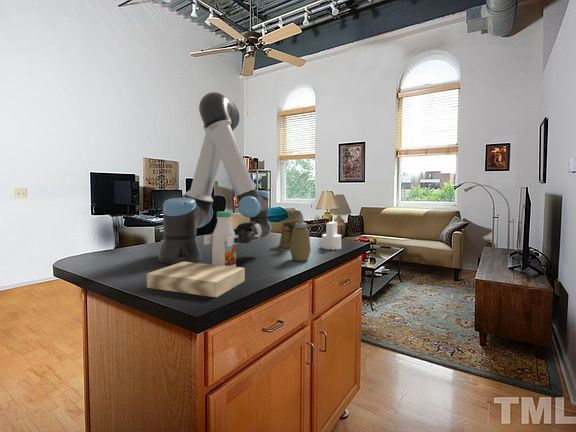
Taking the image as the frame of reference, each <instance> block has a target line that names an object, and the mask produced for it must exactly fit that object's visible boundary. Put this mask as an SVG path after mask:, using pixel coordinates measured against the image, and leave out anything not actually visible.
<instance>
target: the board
mask: <svg viewBox="0 0 576 432" xmlns="http://www.w3.org/2000/svg"><path fill="white" fill-rule="evenodd" d="M245 269H246V268H245V267H241V266H236V267H231V266H222V265H212V263H211V264H210V263H200V262H193V263H192V262H180V263H177V264H170V265H169V266H165V267H162V268H160V269H156V270H153V271H150V272H148V273H146V288H148V289H154V290H160V291H161V290H162V291H167V292H168V291H169V292H175V293H184V294H188V295H189V294H190V295H197V296H203V297H212V298H218V297H220V296H221V295H224V294H225V293H226V292H227V293H228V291H230V290H231V289H234V288H235V287H237V286H239V285H240V284H242V283H243V282H246V281H245V280H246V279H245V278H246V276H245V275H246V272H245V271H246V270H245Z"/></svg>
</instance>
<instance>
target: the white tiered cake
mask: <svg viewBox="0 0 576 432" xmlns="http://www.w3.org/2000/svg"><path fill="white" fill-rule="evenodd" d="M325 225H326V227H325V229H326V230H325V231H326V233H323V234H322V235H321V248H322V249H323V250H324V249H325V250H330V249H331V250H333V251H334V250H335V249H336V250H341V249H342V234H338V225H339V223H338V221H329V222H326V224H325Z"/></svg>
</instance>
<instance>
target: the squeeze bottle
mask: <svg viewBox="0 0 576 432" xmlns="http://www.w3.org/2000/svg"><path fill="white" fill-rule="evenodd" d="M304 220H305V219H304V216H303V213H302V214H299V218H298V222H297V223H295V228H294V229H293V230H292V237H291V246H290V248H289V251H290V256H291V258H292V260H293V261H296V262H305V261H308V260H309V257H310V254H311V238H310V230H309V229H308V227H307V226H308V225H307V224H308V223H307V222H305V221H304Z"/></svg>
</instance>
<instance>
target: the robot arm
mask: <svg viewBox="0 0 576 432" xmlns="http://www.w3.org/2000/svg"><path fill="white" fill-rule="evenodd" d="M198 105H199V106H198V112H199V115H200V119H201V120H202V123H203V130H204V131H205V135H204V137H203V142H202V146H201V149H200V152H199V157H198V160H197V163H196V168H195V172H194V175H193V179H192V182H191V187H190V188H189V190H188V191H186V192H185V193H184V196H183V197H175V198H173V197H172V198H169V199H166V200H165V201H164V202H163V204H162V205H163V206H162V207H163V208H162V217H163V218H162V220H163V221H162V223H163V242H162V246H161V249H160V251H159V254H158V258H159V259H158V261H159V263H161V264H165V265H174V264H177V263H180V262H192V263H198V262H200V261H201V260H202V254H201V250H200V247H199V244H198V241H197V229H200V228H203V227H204V226H207V224H209V223H210V221H211V220H212V218H213V215H214V210H213V203H214V199H213V198H212V193H213V189H214V185H215V183H216V178H217V177H218V176H217V175H218V172H219V167H220V164H221V162H222V164H223V167H224V169H225V171H226V173H227V178H228V179H229V181H230V184H231V187H232V189H233V191H234V194H235V197H236V199H237V201H238V205H237V208H238V209H237V210H238V212H239V213H240V215H242V216H243V217H244V218H249V221H246V222H241V223H239V224H238V225H237V226H236V228H233V230H234V232H235V236H231V237H228V238H227V246H232V245H235V244H236V245H237V244H249V243H253V242H254V241H256V240H259V239H263V238H265V237H267V236H269V235H270V234H271V231H272V225H271V222H270V221H269V201H270V200H269V193H268V190H256V187H255V184H254V182H253V180H252V177H251V173H250V172H249V169H248V167H247V164H246V161H245V159H244V157H243V154H242V151H241V149H240V147H239V144H238V141H237V139H236V136H235V134H234V130H235V129H236V128H237V127H239V126H238V125H239V124H240V120H241V114H240V111H239V109H238V107H237V106H236V105H235V103H234V102H232V101H231V100H229V99H228V98H227V96H225V95H224V94H222V93H220V92H216V91H215V92H214V91H213V92H209V93H206V94H204V95H203V97H202V98H201V99H200V101H199V104H198ZM213 232H214V231H213ZM213 232H212V231H211V232H209V233H208V235H204V236H203V244H204V245H209V244H212V237H213Z"/></svg>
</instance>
